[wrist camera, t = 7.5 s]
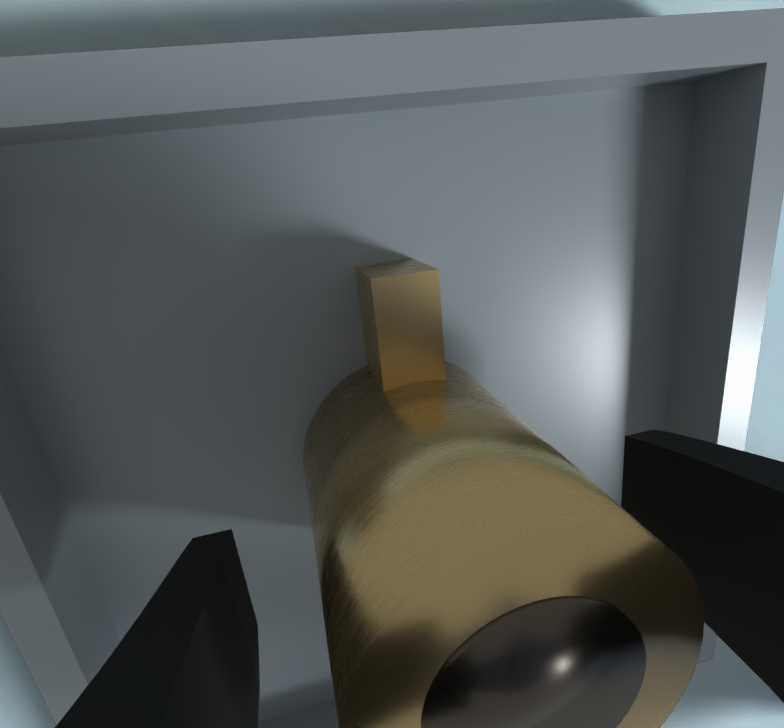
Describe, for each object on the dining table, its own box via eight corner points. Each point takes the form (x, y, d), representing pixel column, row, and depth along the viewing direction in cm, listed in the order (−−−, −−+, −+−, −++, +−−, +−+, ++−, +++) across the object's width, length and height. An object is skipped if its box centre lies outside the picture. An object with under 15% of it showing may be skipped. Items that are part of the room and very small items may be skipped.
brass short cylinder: (500, 510, 12) (690, 767, 7) (320, 555, 12) (369, 889, 6) (491, 247, 10) (762, 307, 5) (268, 279, 9) (265, 397, 4)
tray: (699, 46, 11) (811, 6, 9) (651, 595, 16) (712, 658, 14) (-123, 109, 8) (-277, 74, 6) (149, 749, 13) (124, 859, 11)
